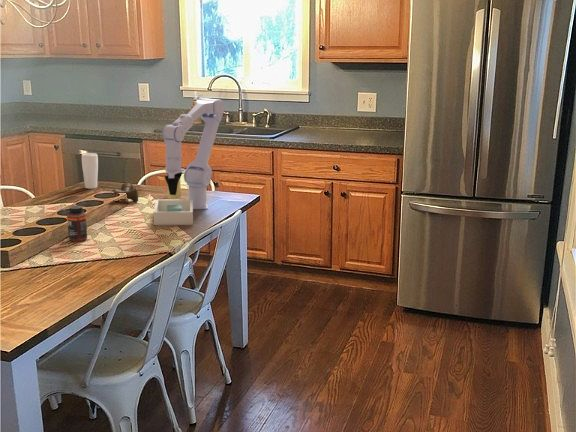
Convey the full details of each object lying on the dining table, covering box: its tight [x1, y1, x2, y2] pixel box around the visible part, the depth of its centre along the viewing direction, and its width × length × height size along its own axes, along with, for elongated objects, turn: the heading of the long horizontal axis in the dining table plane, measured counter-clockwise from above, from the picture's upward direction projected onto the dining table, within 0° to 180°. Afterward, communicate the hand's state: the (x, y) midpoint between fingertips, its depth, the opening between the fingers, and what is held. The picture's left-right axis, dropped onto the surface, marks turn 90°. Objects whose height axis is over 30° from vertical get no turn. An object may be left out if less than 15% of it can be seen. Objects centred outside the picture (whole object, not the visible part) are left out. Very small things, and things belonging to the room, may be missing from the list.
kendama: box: [113, 182, 139, 203], centre depth 259 cm, size 6×10×20 cm
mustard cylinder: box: [166, 178, 182, 200], centre depth 236 cm, size 5×5×7 cm
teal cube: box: [167, 205, 182, 212], centre depth 231 cm, size 5×5×5 cm
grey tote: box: [153, 199, 194, 227], centre depth 235 cm, size 18×14×5 cm
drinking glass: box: [81, 152, 99, 190], centre depth 273 cm, size 7×7×15 cm
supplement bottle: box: [66, 205, 88, 243], centre depth 206 cm, size 6×6×11 cm
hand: (173, 192), depth 236 cm, fingers closed on mustard cylinder, 5 cm apart
